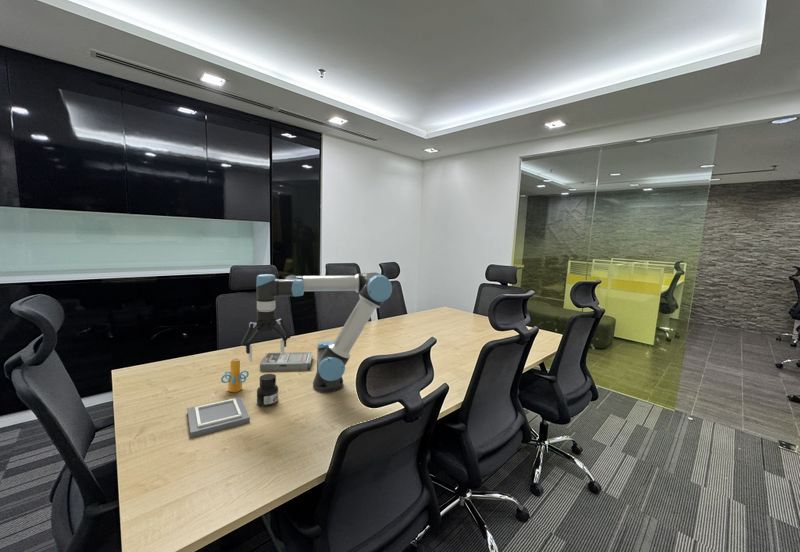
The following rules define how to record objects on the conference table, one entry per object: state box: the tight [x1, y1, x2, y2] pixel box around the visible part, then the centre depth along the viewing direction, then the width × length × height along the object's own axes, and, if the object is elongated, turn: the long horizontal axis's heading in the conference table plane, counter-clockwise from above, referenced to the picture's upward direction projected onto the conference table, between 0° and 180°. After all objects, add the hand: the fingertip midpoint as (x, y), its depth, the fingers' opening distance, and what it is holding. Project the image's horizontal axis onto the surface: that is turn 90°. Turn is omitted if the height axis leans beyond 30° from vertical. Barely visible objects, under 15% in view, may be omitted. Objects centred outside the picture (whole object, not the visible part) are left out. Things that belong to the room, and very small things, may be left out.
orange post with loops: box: [220, 357, 249, 393], centre depth 156 cm, size 12×10×15 cm
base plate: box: [186, 396, 251, 438], centre depth 132 cm, size 20×20×3 cm
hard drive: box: [259, 351, 313, 372], centre depth 190 cm, size 18×27×4 cm
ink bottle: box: [256, 373, 279, 407], centre depth 146 cm, size 10×9×12 cm
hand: (266, 357), depth 143 cm, fingers open, 13 cm apart
